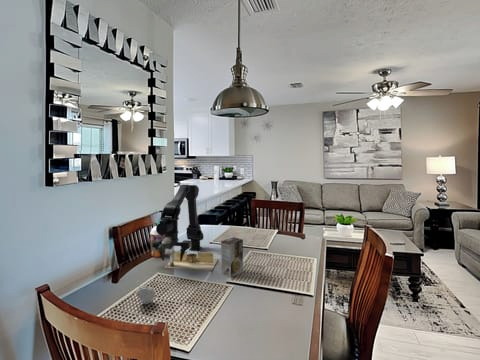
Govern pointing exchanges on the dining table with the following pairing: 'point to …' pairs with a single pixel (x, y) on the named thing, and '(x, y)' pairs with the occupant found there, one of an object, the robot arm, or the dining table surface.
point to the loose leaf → (205, 256)
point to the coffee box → (231, 257)
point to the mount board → (193, 265)
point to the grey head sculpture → (145, 294)
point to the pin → (171, 257)
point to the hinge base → (185, 257)
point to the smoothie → (153, 237)
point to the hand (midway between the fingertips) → (172, 260)
